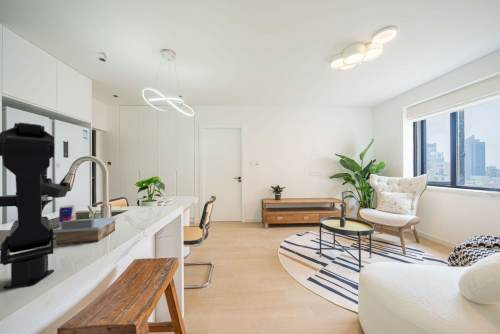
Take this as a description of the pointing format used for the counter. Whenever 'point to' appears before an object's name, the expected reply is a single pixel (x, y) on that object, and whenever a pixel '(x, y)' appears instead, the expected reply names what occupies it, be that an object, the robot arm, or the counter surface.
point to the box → (84, 235)
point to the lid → (84, 224)
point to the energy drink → (66, 213)
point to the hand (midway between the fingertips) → (34, 223)
